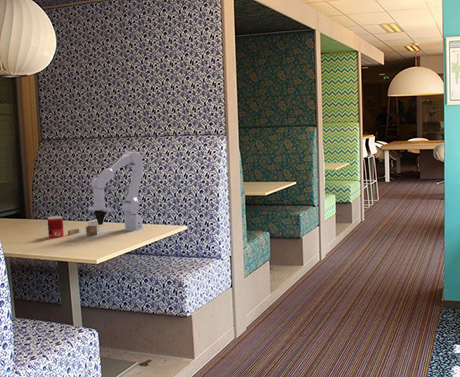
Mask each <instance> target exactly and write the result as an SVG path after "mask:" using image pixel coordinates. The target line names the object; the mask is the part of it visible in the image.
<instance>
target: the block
mask: <svg viewBox="0 0 460 377" xmlns="http://www.w3.org/2000/svg"><path fill="white" fill-rule="evenodd" d="M85 230H86V236H85V237H88V236H95V235H97V226H88V225H86V226H85Z"/></svg>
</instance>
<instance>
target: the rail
mask: <svg viewBox="0 0 460 377" xmlns="http://www.w3.org/2000/svg"><path fill="white" fill-rule="evenodd" d="M79 232H80V228H72V229H68V230H67V236H74V235H73V234H77V233H79Z"/></svg>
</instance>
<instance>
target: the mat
mask: <svg viewBox="0 0 460 377" xmlns="http://www.w3.org/2000/svg"><path fill="white" fill-rule="evenodd" d="M115 232H116V231H115V230H101V229H100V232H98V233H97V235H95V236H86V229H84V230H81V231H80V230H79V233H77V234H73V235H72V236H77V237H87V238H88V237H89V238H90V237H91V238H97V237H101V236H105V235H108V234H112V233H115Z"/></svg>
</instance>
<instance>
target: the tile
mask: <svg viewBox="0 0 460 377" xmlns="http://www.w3.org/2000/svg"><path fill="white" fill-rule="evenodd" d="M87 226H97V233H98V232H100V230H101V228H100V225H98V221H97V219H96V218H95V219H92V220H88V221H87Z"/></svg>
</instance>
